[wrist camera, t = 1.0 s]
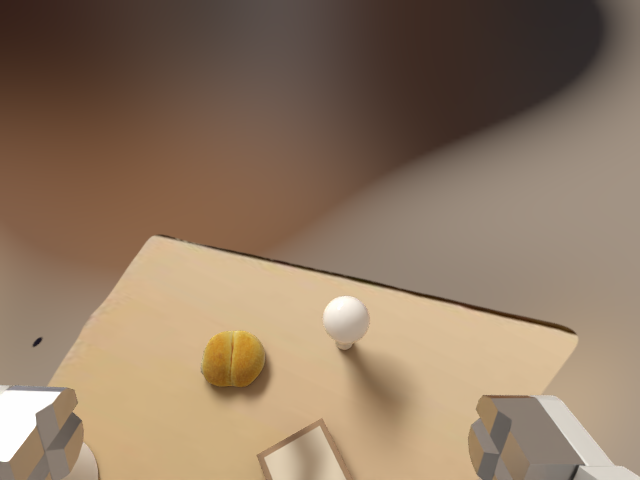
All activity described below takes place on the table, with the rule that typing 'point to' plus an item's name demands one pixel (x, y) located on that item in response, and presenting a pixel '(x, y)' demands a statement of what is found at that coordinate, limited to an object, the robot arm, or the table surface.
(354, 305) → the lightbulb
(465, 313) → the table surface
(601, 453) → the robot arm
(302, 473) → the picture frame
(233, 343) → the bread roll
